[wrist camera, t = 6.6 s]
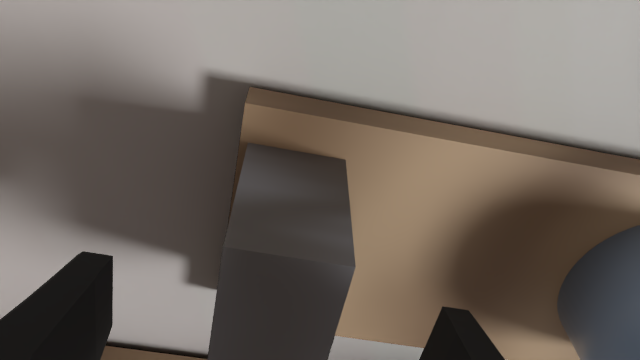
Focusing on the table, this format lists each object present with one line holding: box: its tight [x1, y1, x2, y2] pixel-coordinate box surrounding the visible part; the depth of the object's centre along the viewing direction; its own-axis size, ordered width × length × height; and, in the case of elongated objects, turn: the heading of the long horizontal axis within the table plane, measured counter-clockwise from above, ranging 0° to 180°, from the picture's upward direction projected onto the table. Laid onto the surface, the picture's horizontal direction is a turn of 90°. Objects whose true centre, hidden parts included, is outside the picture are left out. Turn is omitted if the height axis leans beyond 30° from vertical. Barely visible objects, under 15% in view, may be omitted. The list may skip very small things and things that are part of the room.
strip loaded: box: [207, 87, 640, 360], centre depth 14 cm, size 16×7×5 cm, turn 79°
